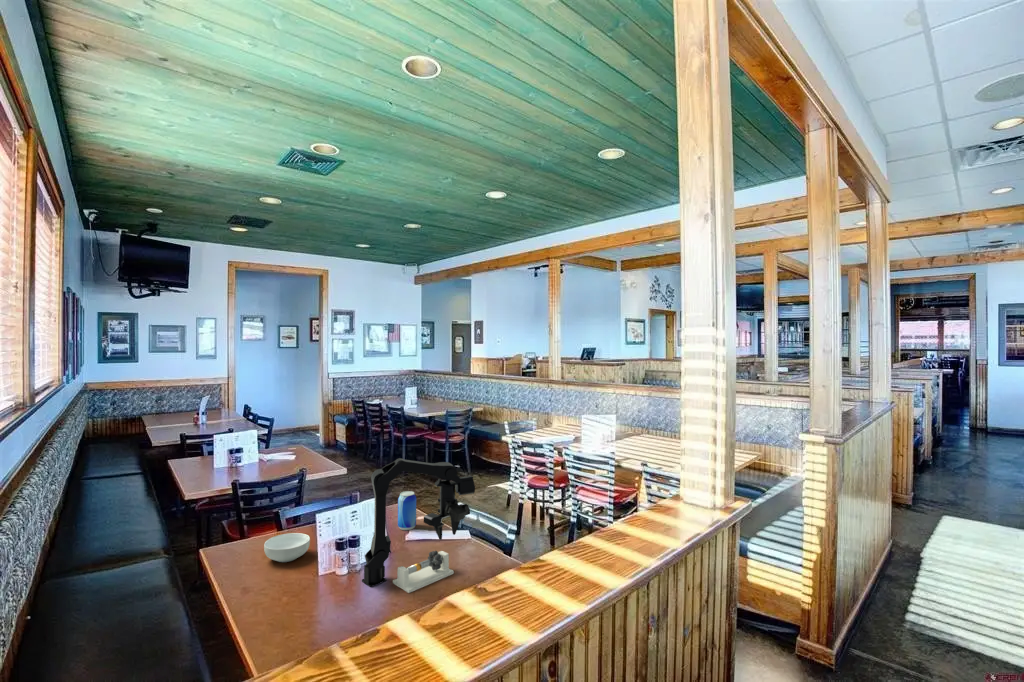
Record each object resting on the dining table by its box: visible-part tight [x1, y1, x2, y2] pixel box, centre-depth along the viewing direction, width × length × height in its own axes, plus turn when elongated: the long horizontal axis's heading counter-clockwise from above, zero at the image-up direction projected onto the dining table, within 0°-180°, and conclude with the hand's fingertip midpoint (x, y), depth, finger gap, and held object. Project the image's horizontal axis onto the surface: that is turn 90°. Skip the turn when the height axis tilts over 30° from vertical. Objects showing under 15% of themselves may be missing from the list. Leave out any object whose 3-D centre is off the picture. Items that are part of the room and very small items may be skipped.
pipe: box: [406, 555, 443, 574], centre depth 181 cm, size 18×3×3 cm, turn 136°
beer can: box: [397, 490, 417, 531], centre depth 231 cm, size 8×8×16 cm
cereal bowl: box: [263, 532, 311, 563], centre depth 198 cm, size 17×17×7 cm
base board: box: [392, 550, 455, 594], centre depth 181 cm, size 20×10×6 cm, turn 136°
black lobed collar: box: [427, 550, 442, 570], centre depth 185 cm, size 2×7×7 cm, turn 46°
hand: (447, 537), depth 189 cm, fingers open, 6 cm apart
